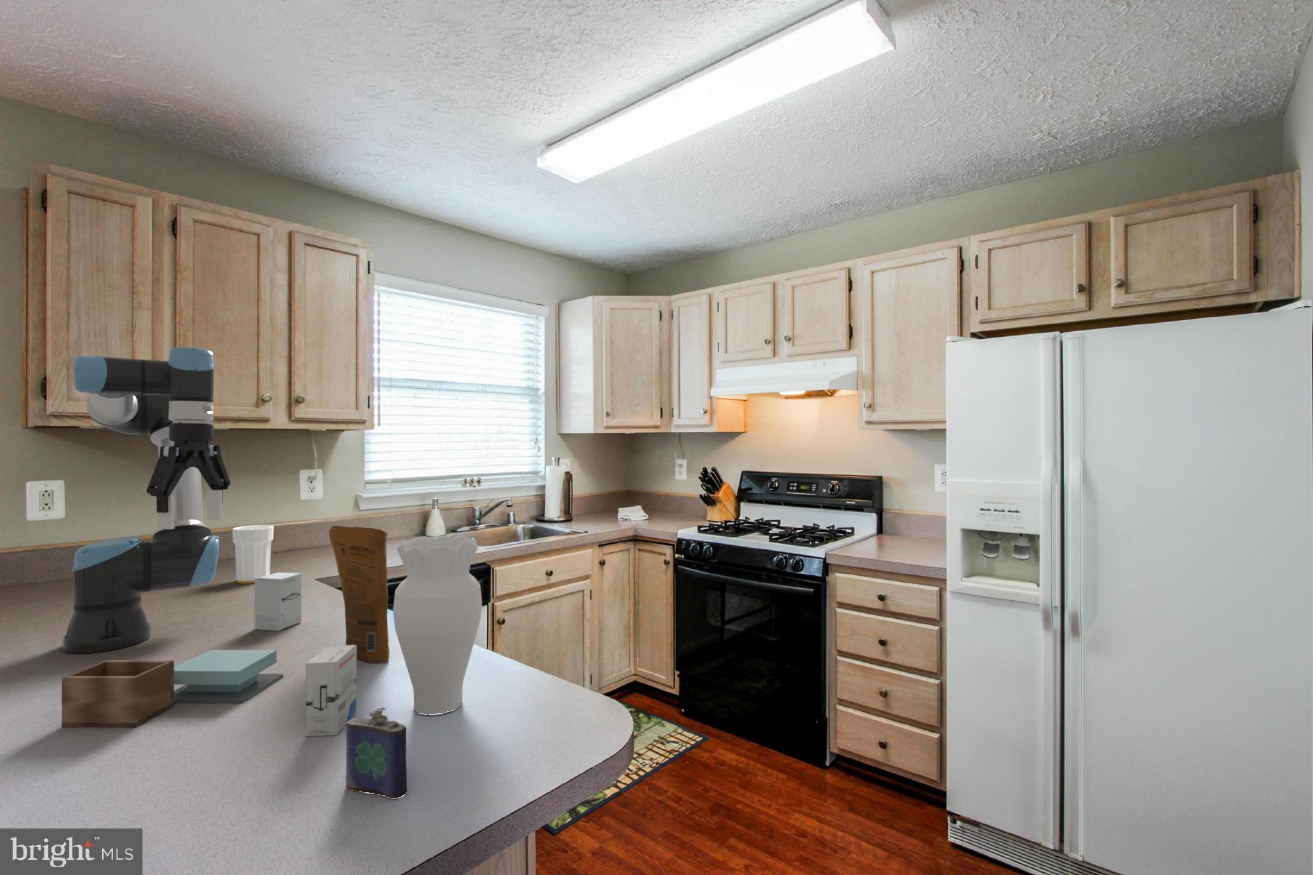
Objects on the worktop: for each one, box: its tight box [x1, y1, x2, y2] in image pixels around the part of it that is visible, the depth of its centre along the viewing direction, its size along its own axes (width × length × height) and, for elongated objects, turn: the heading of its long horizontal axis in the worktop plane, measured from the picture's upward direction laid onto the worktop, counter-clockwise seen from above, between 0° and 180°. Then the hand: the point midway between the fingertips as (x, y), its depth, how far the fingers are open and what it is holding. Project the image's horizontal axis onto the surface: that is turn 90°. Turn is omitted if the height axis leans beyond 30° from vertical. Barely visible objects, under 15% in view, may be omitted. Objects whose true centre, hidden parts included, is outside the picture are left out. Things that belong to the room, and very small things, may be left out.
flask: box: [345, 707, 408, 799], centre depth 84 cm, size 9×3×11 cm, turn 72°
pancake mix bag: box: [328, 525, 390, 664], centre depth 135 cm, size 7×19×28 cm, turn 53°
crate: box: [61, 659, 175, 729], centre depth 106 cm, size 12×8×8 cm, turn 90°
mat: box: [174, 673, 284, 704], centre depth 117 cm, size 15×12×1 cm
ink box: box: [305, 645, 357, 737], centre depth 103 cm, size 9×5×12 cm, turn 5°
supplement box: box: [254, 572, 302, 632], centre depth 156 cm, size 7×7×13 cm
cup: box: [231, 524, 275, 585], centre depth 205 cm, size 11×11×17 cm
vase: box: [392, 534, 483, 715], centre depth 110 cm, size 15×15×29 cm
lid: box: [174, 649, 278, 692], centre depth 117 cm, size 13×11×5 cm
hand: (191, 524), depth 131 cm, fingers open, 13 cm apart
